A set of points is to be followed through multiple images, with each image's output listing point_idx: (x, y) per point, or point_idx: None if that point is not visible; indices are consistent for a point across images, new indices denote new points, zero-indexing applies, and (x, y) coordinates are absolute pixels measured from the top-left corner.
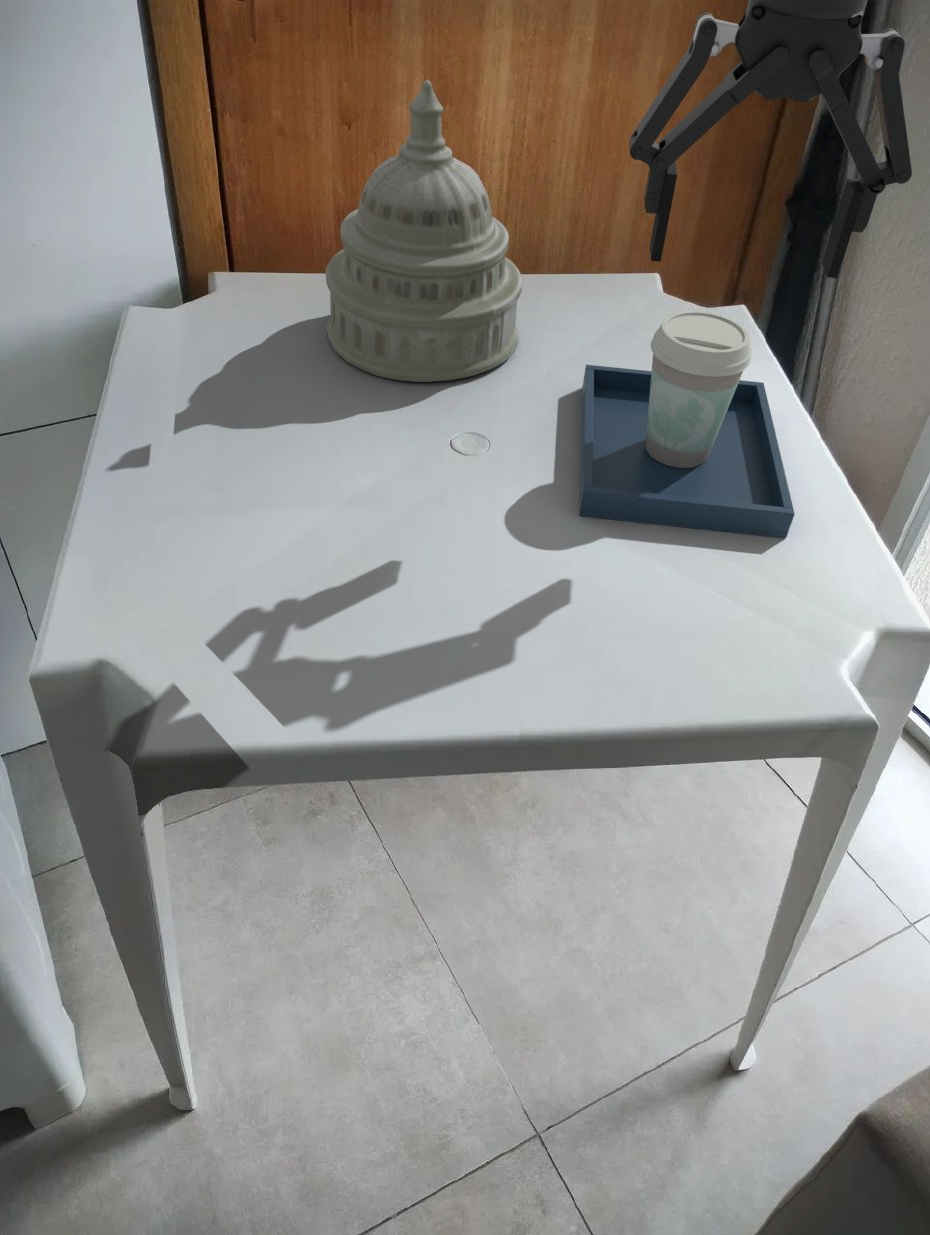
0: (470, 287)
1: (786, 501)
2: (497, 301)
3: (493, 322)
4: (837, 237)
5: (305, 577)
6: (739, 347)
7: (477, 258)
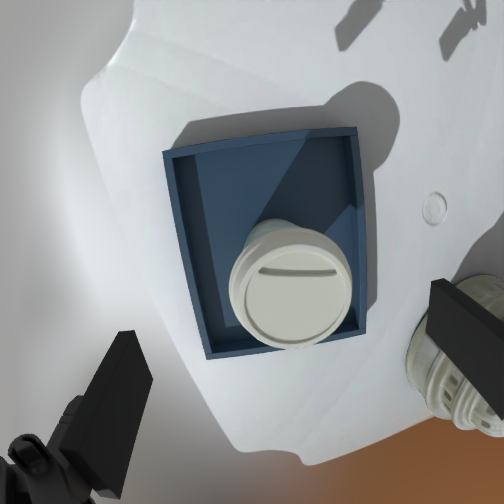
0: None
1: (169, 167)
2: None
3: None
4: (119, 384)
5: (476, 46)
6: (250, 271)
7: None
